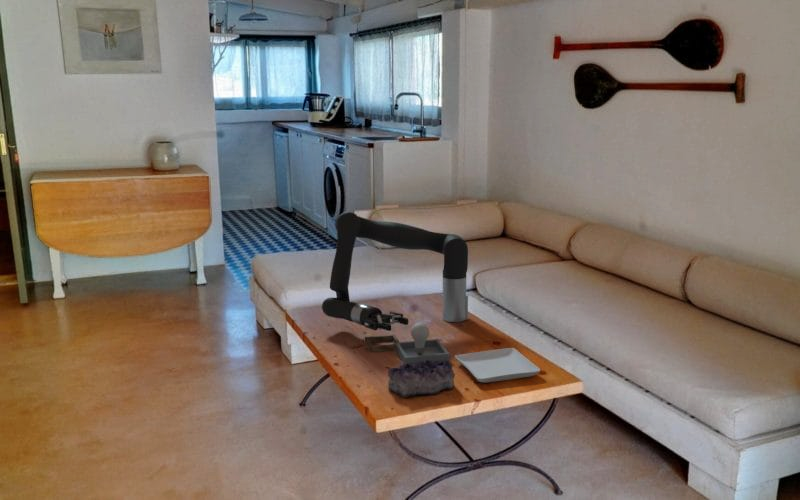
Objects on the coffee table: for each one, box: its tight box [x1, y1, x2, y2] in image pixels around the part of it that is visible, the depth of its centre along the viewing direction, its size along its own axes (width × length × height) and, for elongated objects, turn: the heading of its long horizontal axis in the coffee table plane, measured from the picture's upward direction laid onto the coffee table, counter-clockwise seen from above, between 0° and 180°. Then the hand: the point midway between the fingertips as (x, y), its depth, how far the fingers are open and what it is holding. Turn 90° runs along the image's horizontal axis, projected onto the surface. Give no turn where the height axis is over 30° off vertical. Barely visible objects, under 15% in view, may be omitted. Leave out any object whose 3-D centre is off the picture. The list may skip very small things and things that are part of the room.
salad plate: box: [454, 347, 541, 384], centre depth 223 cm, size 21×21×3 cm
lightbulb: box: [410, 322, 430, 355], centre depth 235 cm, size 6×6×11 cm
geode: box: [387, 360, 456, 398], centre depth 209 cm, size 20×12×10 cm, turn 110°
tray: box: [395, 338, 451, 365], centre depth 237 cm, size 15×15×3 cm
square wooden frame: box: [364, 334, 400, 353], centre depth 248 cm, size 11×11×2 cm
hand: (399, 324), depth 242 cm, fingers open, 8 cm apart
